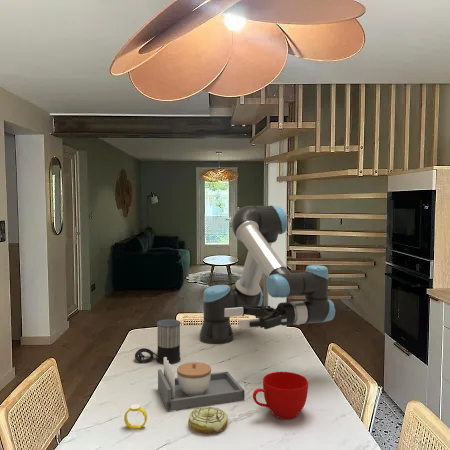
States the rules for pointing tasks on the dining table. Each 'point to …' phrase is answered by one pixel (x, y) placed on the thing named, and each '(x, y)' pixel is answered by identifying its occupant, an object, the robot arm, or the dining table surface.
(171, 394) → the dish rack
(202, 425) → the decorated donut
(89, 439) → the dining table surface
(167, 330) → the milk frother
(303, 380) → the ceramic cup
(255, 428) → the dining table surface
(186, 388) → the lidded jar
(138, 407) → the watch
